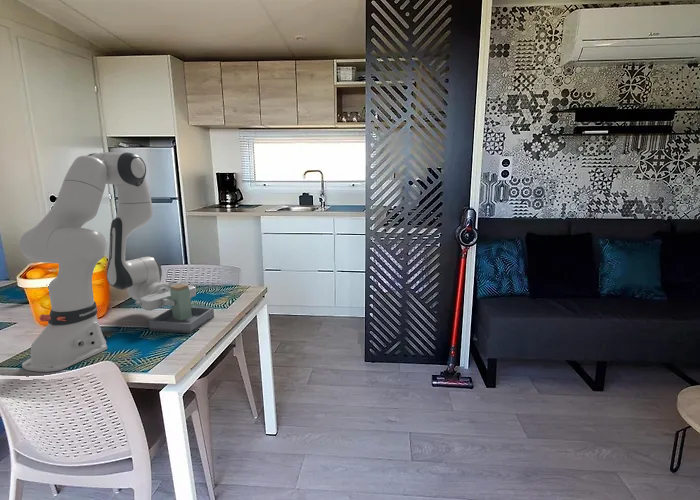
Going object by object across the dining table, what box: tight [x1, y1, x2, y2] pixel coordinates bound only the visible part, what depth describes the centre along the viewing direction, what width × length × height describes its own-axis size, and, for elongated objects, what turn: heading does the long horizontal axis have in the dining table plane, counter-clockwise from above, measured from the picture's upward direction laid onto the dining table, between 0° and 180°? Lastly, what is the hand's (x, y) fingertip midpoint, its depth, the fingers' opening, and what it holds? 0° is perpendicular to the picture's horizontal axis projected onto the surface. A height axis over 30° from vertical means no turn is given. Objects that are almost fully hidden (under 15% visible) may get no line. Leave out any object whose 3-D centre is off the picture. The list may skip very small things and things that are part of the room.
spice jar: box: [170, 283, 192, 320], centre depth 146 cm, size 5×5×12 cm
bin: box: [147, 306, 215, 334], centre depth 147 cm, size 16×16×4 cm
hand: (182, 300), depth 145 cm, fingers closed on spice jar, 5 cm apart
